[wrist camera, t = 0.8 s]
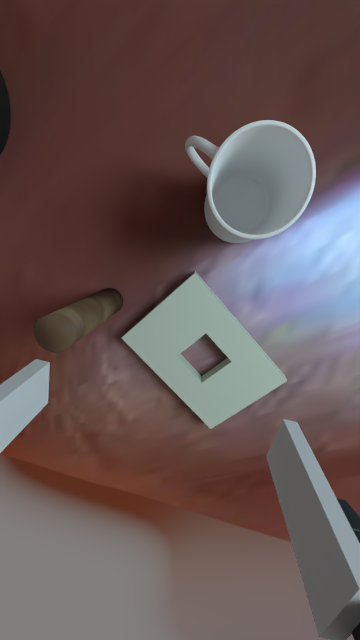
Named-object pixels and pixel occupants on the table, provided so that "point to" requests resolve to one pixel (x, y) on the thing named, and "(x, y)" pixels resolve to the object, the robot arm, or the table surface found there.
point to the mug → (255, 180)
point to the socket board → (187, 327)
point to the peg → (76, 320)
